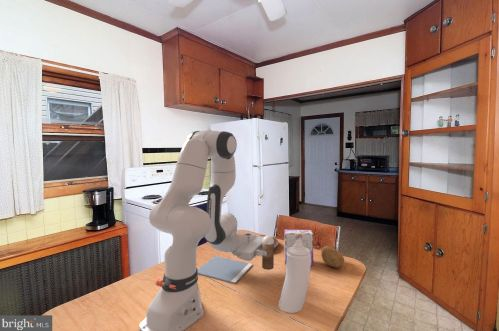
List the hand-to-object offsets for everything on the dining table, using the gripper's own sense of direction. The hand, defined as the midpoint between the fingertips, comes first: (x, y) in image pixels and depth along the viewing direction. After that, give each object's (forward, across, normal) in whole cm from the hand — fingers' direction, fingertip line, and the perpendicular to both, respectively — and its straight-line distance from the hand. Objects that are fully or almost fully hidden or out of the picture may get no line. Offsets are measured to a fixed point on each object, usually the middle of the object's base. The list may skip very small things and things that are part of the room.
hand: (269, 250), depth 108 cm
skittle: (-1, 0, +8) cm, 8 cm away
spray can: (+14, -11, +14) cm, 23 cm away
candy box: (+7, +22, +14) cm, 27 cm away
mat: (-24, +1, +14) cm, 28 cm away
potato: (+23, +26, +13) cm, 37 cm away
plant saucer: (-18, +32, +14) cm, 39 cm away
